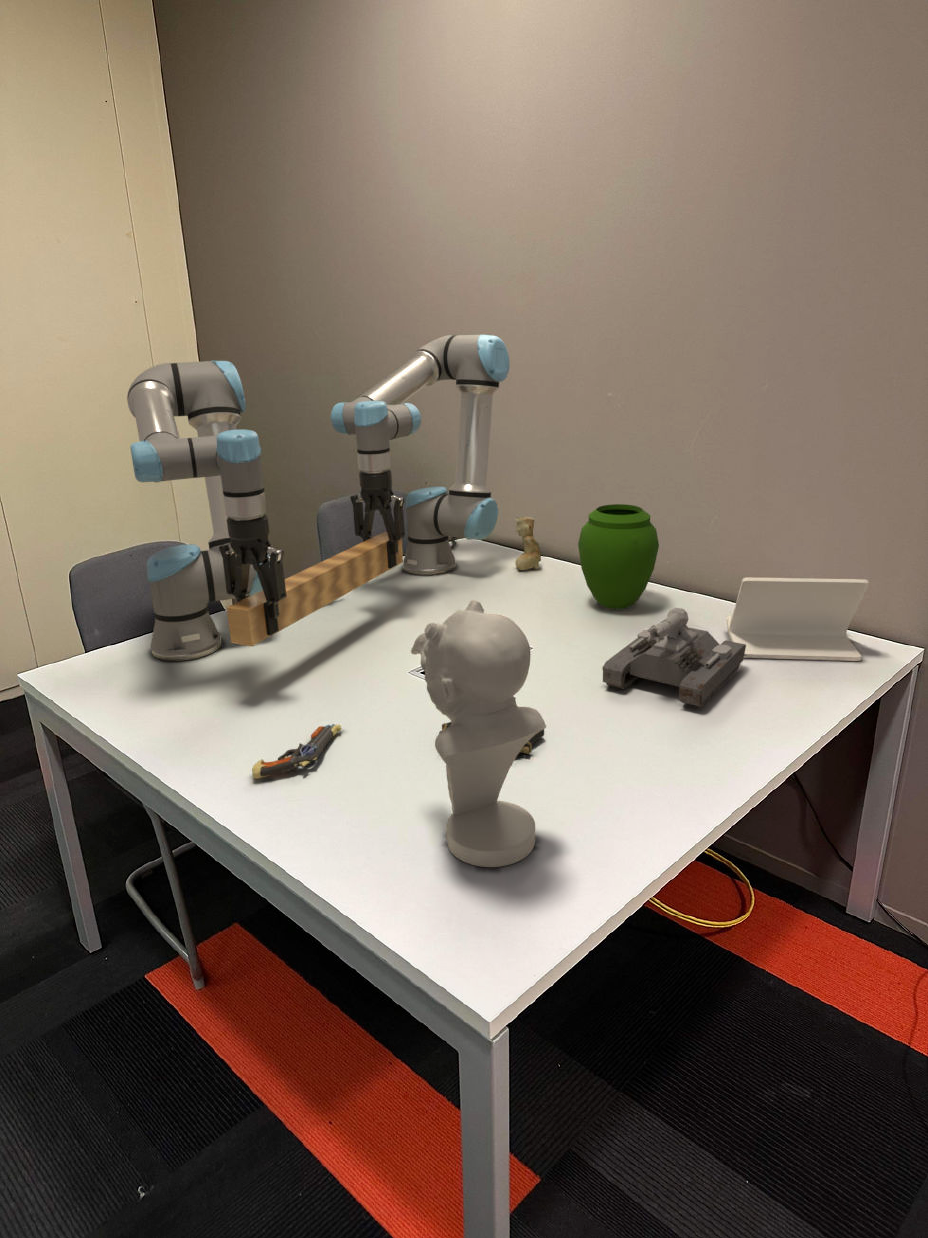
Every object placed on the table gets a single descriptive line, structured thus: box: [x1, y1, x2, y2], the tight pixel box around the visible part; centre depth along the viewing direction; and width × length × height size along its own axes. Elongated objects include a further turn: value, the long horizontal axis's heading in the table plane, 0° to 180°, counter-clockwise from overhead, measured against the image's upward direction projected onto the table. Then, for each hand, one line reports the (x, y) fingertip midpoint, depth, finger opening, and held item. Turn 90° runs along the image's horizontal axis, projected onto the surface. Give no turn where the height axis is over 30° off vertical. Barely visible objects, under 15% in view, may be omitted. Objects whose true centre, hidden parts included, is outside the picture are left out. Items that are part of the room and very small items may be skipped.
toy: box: [601, 607, 746, 708], centre depth 170 cm, size 25×20×15 cm
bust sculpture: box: [410, 599, 547, 868], centre depth 121 cm, size 16×24×35 cm
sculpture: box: [514, 516, 542, 571], centre depth 242 cm, size 6×7×15 cm
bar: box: [226, 531, 404, 647], centre depth 186 cm, size 58×5×7 cm, turn 154°
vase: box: [577, 503, 660, 610], centre depth 210 cm, size 20×20×24 cm
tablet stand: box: [726, 577, 870, 662], centre depth 185 cm, size 18×25×17 cm
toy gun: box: [251, 723, 342, 780], centre depth 147 cm, size 3×19×10 cm
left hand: (260, 630), depth 167 cm, fingers closed on bar, 5 cm apart
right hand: (382, 565), depth 206 cm, fingers closed on bar, 5 cm apart
